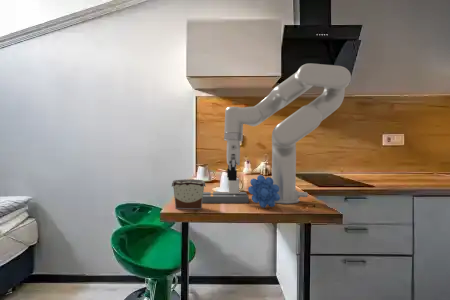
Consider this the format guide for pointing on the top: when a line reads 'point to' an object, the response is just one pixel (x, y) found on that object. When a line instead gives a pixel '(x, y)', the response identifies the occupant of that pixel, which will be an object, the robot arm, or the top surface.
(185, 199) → the food container
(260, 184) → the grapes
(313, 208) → the top surface
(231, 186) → the fader tab
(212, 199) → the fader base
